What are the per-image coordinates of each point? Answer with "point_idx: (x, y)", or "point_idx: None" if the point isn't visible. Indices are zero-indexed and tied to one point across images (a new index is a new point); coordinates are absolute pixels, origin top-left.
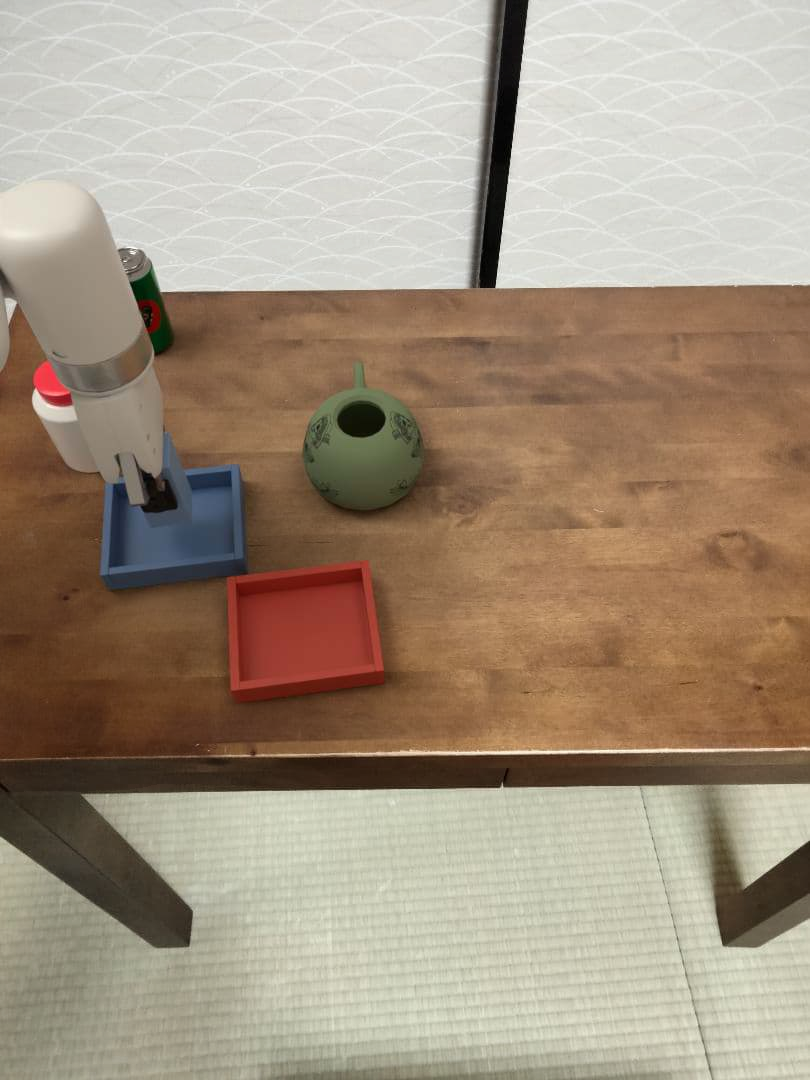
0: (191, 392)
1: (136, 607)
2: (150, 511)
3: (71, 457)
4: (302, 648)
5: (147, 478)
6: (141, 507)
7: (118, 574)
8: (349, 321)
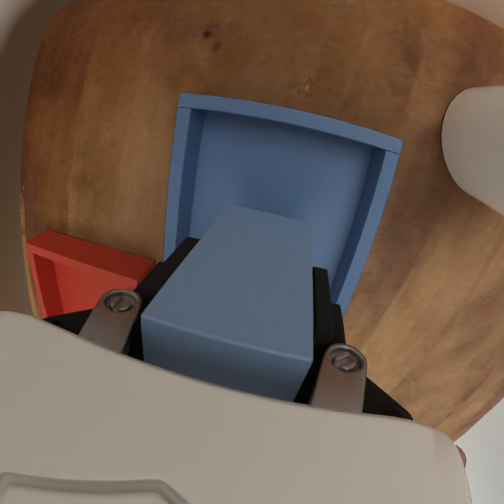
0: (493, 294)
1: (160, 132)
2: (161, 262)
3: (471, 99)
4: (85, 303)
5: (140, 348)
6: (180, 244)
7: (175, 123)
8: (450, 429)
